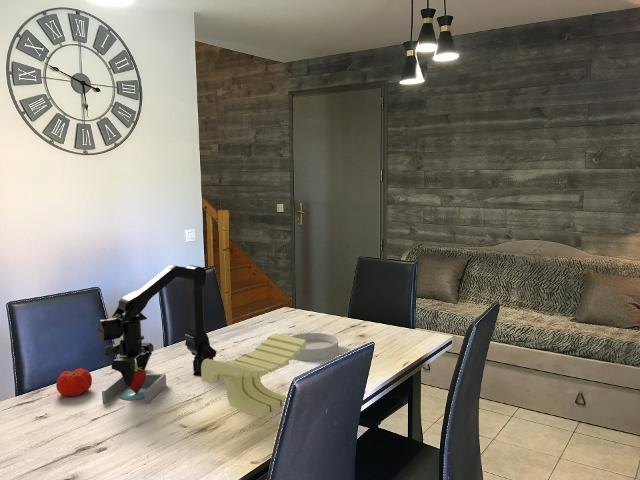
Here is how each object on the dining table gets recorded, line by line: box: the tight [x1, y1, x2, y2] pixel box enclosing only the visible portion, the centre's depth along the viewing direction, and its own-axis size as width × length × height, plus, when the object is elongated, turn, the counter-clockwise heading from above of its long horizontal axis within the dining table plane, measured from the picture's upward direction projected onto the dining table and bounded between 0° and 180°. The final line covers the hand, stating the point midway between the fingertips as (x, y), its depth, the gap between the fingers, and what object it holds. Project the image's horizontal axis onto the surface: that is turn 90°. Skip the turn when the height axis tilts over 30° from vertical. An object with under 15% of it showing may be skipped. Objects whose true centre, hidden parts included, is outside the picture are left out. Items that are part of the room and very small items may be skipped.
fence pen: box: [101, 373, 167, 405], centre depth 171 cm, size 15×15×4 cm
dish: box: [290, 332, 340, 362], centre depth 209 cm, size 22×22×5 cm
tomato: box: [55, 368, 93, 397], centre depth 172 cm, size 11×11×8 cm
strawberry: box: [127, 364, 147, 393], centre depth 171 cm, size 6×8×10 cm
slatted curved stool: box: [200, 333, 306, 418], centre depth 161 cm, size 30×16×18 cm, turn 143°
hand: (135, 380), depth 171 cm, fingers open, 9 cm apart
